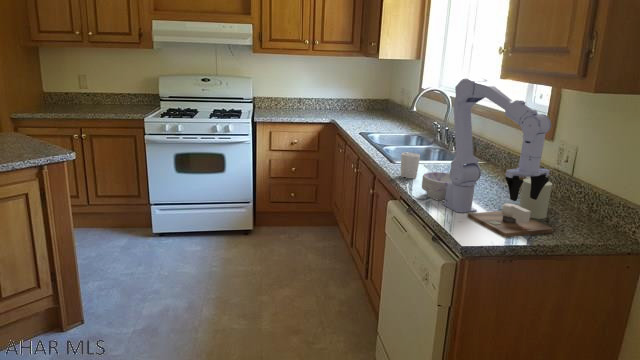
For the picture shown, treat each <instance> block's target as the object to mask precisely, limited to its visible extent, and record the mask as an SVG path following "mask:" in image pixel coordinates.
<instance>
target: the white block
mask: <svg viewBox="0 0 640 360" xmlns="http://www.w3.org/2000/svg"><path fill="white" fill-rule="evenodd" d="M501 211H502V215H504V216H507V217H512V218H514V219H516V220H519V221H521V222H523V223H525V222H529V219H531V218H530V213H531V211H529V210H527V209H524V208H522V207H520V206H519V205H518V204H513V203H503V204H502V209H501Z"/></svg>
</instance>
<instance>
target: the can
mask: <svg viewBox="0 0 640 360" xmlns="http://www.w3.org/2000/svg"><path fill="white" fill-rule="evenodd" d="M523 181H524V182H523V183H522V185H521V186H522V188H521V193H520V200H519V205H518V206H520V207H522V208H524V209H527V210H529V211H531V213H530V219H538V220H539V219H540V220H541V219H546V218H547V217H548V209H549V203H550V196H551V193H552V187H553V183H552V182H551V181H548V182H547V183H546V184H545V186H544V187H543V188H542V190H541V192H540V194H539V196H538V198H537V200H534V199H532V198H530V191H531V178H528V179H526V178H523Z"/></svg>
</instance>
